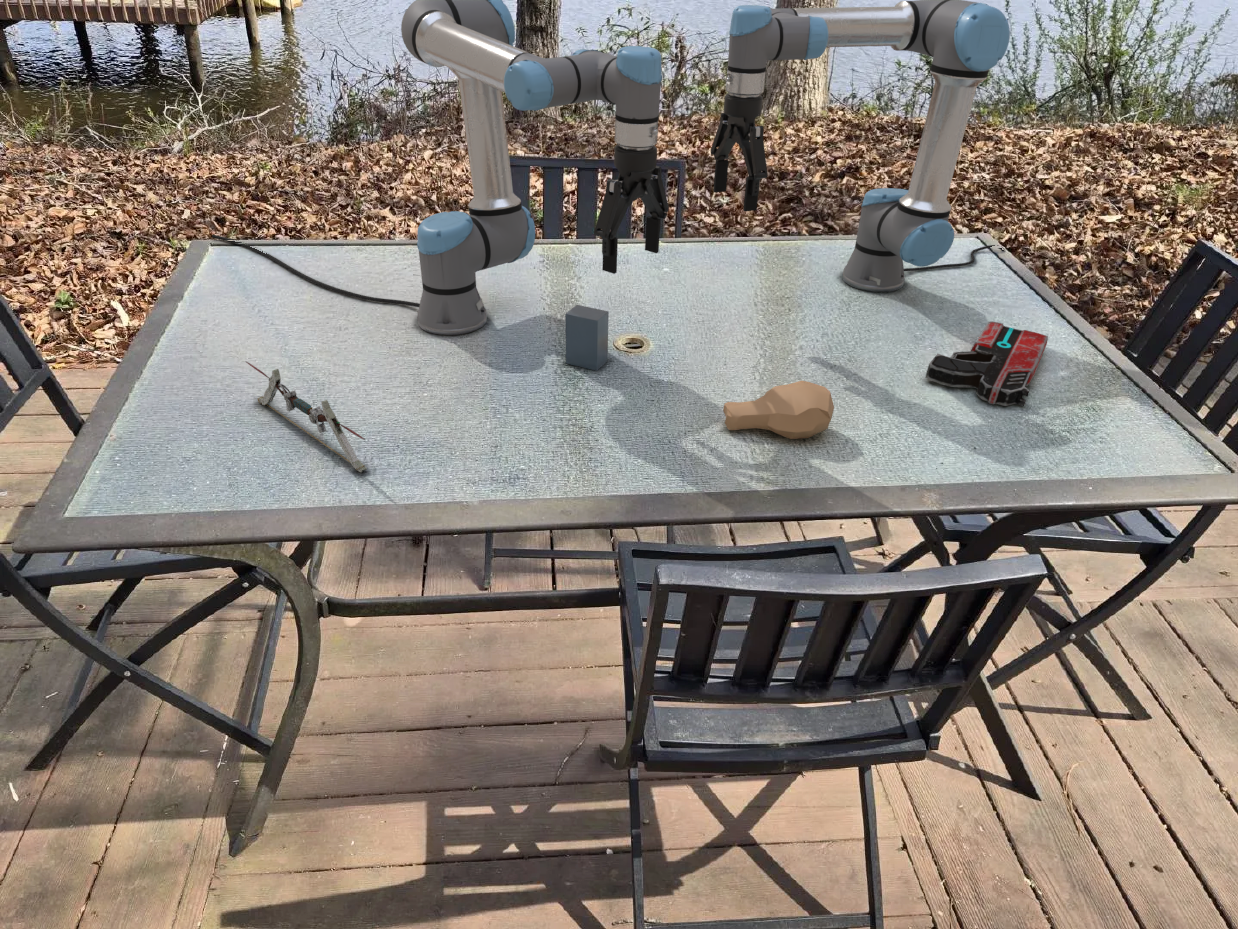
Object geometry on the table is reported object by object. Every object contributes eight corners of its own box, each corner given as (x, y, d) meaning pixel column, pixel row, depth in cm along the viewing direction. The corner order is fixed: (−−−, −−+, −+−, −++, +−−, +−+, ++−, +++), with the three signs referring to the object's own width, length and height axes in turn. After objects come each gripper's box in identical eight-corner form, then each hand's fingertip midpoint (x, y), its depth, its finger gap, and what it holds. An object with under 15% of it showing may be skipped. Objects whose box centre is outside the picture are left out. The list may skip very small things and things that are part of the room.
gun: (926, 366, 174) (1027, 394, 166) (962, 310, 196) (1054, 333, 188) (920, 386, 177) (1020, 414, 169) (957, 329, 199) (1047, 352, 191)
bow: (376, 475, 146) (368, 423, 140) (367, 479, 145) (359, 428, 139) (259, 394, 167) (248, 347, 162) (250, 398, 166) (238, 350, 160)
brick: (565, 363, 181) (565, 313, 175) (577, 353, 185) (576, 304, 179) (596, 370, 179) (597, 320, 173) (607, 360, 183) (608, 311, 177)
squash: (838, 445, 158) (841, 407, 151) (727, 454, 159) (725, 416, 153) (828, 406, 165) (831, 369, 159) (722, 415, 167) (721, 378, 161)
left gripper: (610, 163, 143) (607, 285, 155) (692, 135, 160) (683, 247, 172) (574, 154, 147) (574, 275, 159) (658, 128, 163) (652, 238, 175)
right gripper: (699, 82, 182) (692, 185, 194) (758, 108, 163) (747, 220, 174) (731, 80, 184) (723, 182, 196) (793, 105, 165) (779, 216, 177)
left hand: (631, 261), depth 165 cm, fingers open, 13 cm apart
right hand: (734, 200), depth 185 cm, fingers open, 13 cm apart
